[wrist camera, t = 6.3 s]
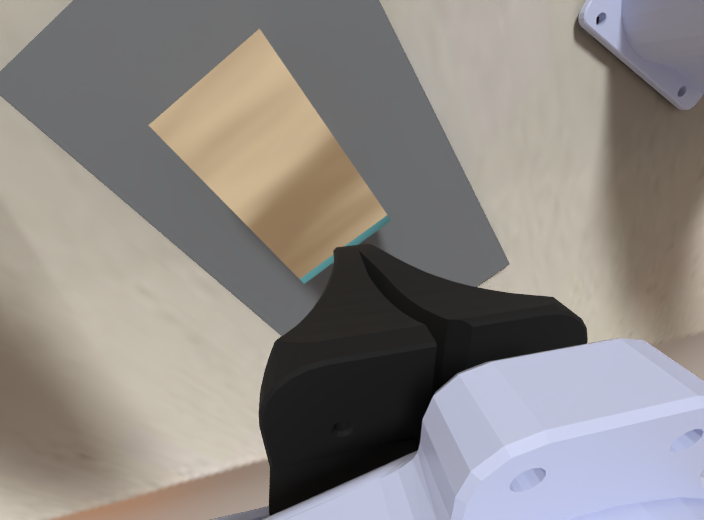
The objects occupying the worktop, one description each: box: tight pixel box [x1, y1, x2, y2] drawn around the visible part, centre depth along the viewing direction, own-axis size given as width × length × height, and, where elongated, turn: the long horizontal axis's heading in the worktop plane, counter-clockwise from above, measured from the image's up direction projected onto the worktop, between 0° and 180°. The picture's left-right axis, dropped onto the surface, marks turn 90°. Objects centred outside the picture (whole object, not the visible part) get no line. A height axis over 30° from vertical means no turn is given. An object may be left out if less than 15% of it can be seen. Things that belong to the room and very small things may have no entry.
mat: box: [0, 0, 509, 336], centre depth 17 cm, size 22×14×1 cm, turn 35°
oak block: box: [149, 29, 391, 284], centre depth 13 cm, size 4×4×8 cm
